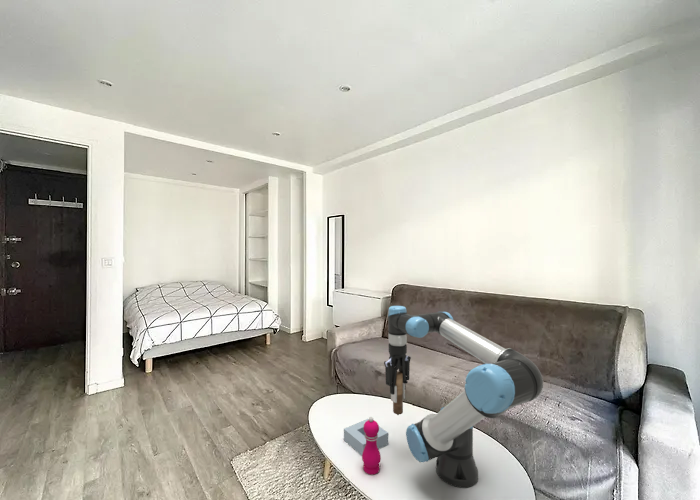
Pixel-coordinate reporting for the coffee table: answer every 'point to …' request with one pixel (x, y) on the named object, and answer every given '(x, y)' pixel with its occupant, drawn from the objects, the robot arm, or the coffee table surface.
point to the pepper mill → (371, 448)
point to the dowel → (399, 394)
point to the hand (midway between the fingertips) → (397, 399)
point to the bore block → (363, 437)
